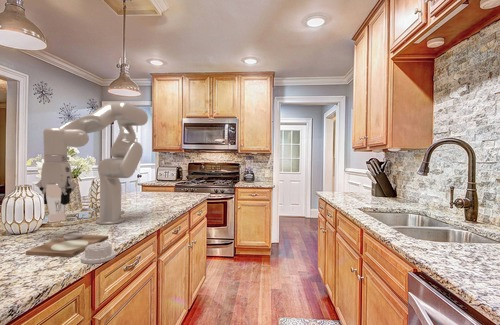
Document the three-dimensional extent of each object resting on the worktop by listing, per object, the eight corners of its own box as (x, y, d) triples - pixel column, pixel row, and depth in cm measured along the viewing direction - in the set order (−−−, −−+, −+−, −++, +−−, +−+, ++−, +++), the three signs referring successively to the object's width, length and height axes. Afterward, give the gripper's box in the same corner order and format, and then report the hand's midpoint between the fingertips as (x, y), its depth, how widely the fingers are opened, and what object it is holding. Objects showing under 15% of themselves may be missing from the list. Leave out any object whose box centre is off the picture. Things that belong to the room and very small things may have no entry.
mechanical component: (72, 262, 84) (99, 266, 82) (72, 248, 84) (100, 251, 82) (97, 252, 94) (122, 254, 92) (97, 239, 94) (122, 242, 92)
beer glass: (55, 217, 112) (54, 182, 111) (71, 218, 112) (71, 182, 111) (42, 222, 105) (40, 184, 104) (59, 222, 105) (58, 184, 104)
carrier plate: (70, 236, 109) (70, 231, 109) (108, 238, 108) (108, 232, 108) (25, 254, 89) (25, 247, 89) (71, 257, 88) (71, 249, 88)
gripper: (83, 159, 110) (84, 202, 111) (43, 158, 111) (44, 201, 112) (69, 160, 102) (70, 206, 103) (26, 159, 104) (28, 205, 105)
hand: (57, 203), depth 108 cm, fingers closed on beer glass, 6 cm apart
